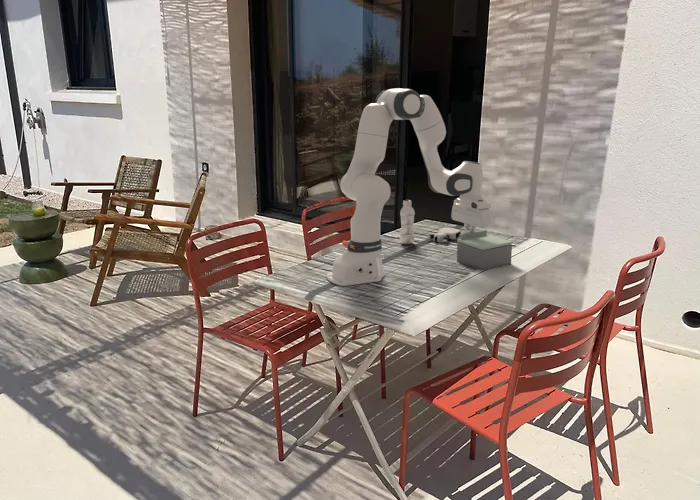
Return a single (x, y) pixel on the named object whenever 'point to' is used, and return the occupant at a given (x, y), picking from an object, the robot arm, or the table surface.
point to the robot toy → (445, 235)
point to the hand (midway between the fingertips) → (469, 234)
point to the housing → (484, 256)
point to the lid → (482, 240)
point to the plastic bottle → (407, 223)
